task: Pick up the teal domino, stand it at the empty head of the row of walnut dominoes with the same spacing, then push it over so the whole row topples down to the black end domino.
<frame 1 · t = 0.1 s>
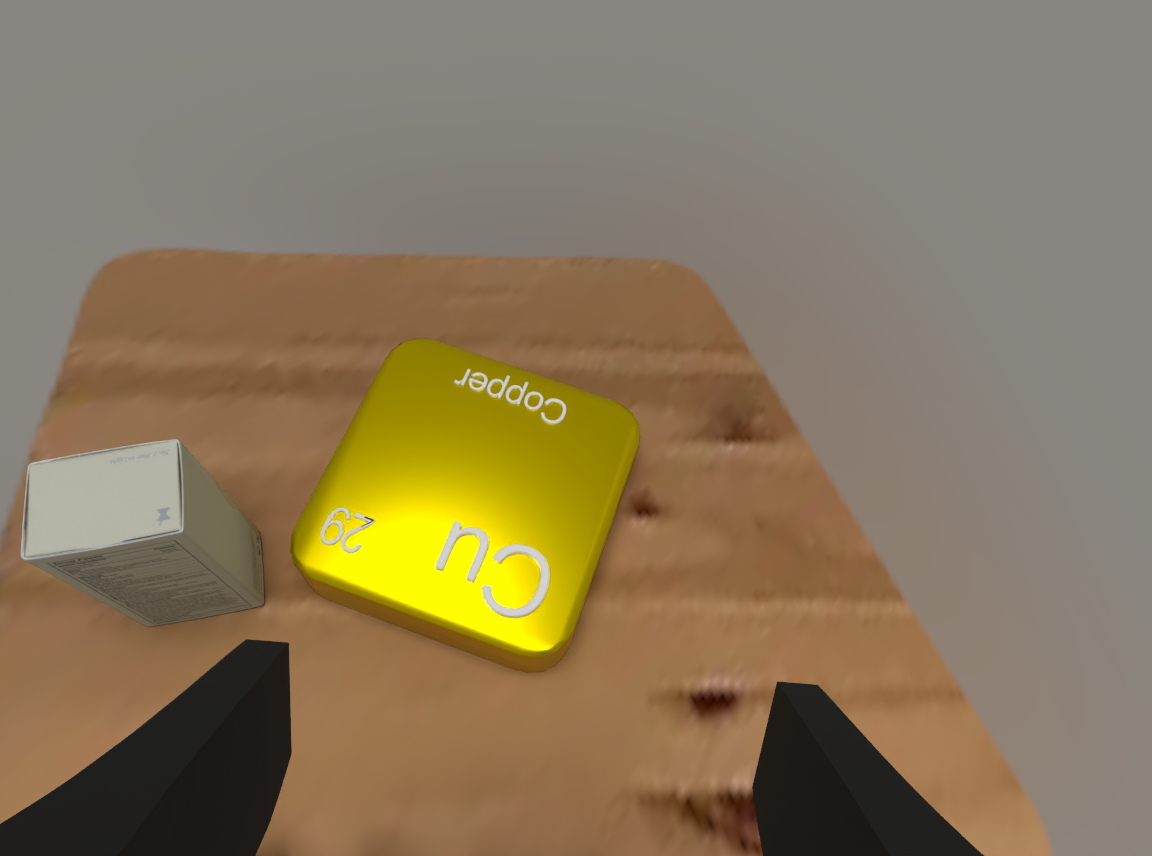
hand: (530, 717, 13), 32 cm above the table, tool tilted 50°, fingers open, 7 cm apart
element tile: (476, 513, 48), on the table
skincare box: (203, 582, 45), on the table
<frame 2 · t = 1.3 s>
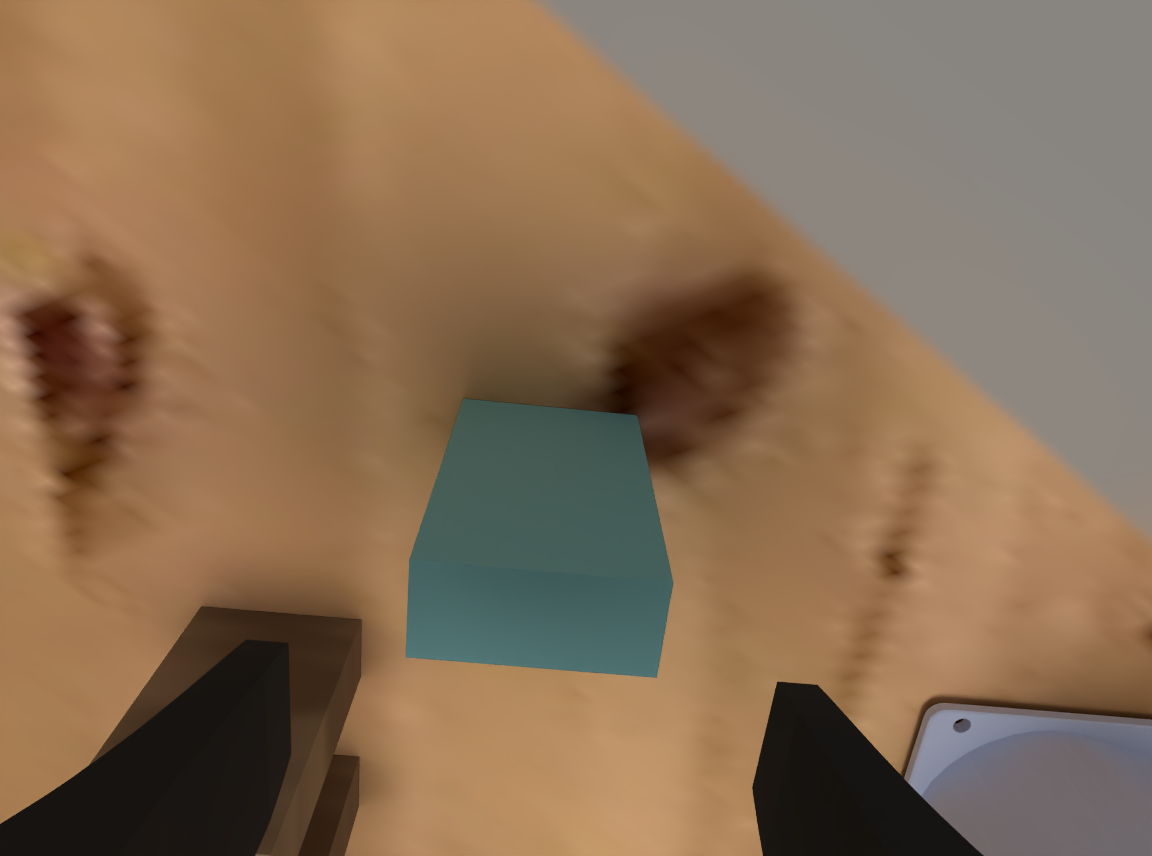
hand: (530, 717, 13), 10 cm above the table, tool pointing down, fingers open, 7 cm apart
walnut domino 1: (282, 642, 24), on the table
walnut domino 2: (285, 776, 26), on the table
teal domino: (547, 442, 22), on the table
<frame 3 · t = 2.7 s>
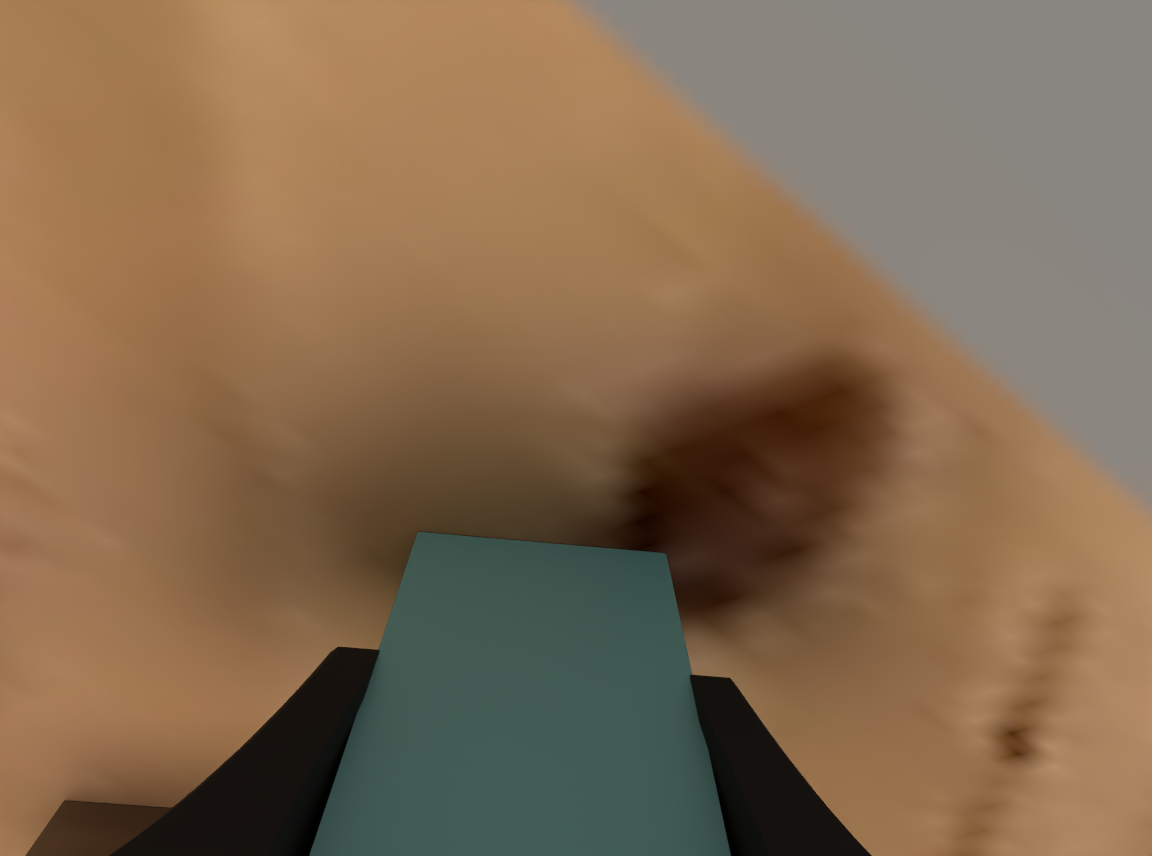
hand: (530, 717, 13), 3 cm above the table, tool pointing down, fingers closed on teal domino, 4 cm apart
walnut domino 1: (178, 844, 18), on the table
teal domino: (537, 589, 16), on the table, touching gripper
when the fingers open (4 cm above the table, at t = 6.4 s): teal domino stays where it is, on the table.
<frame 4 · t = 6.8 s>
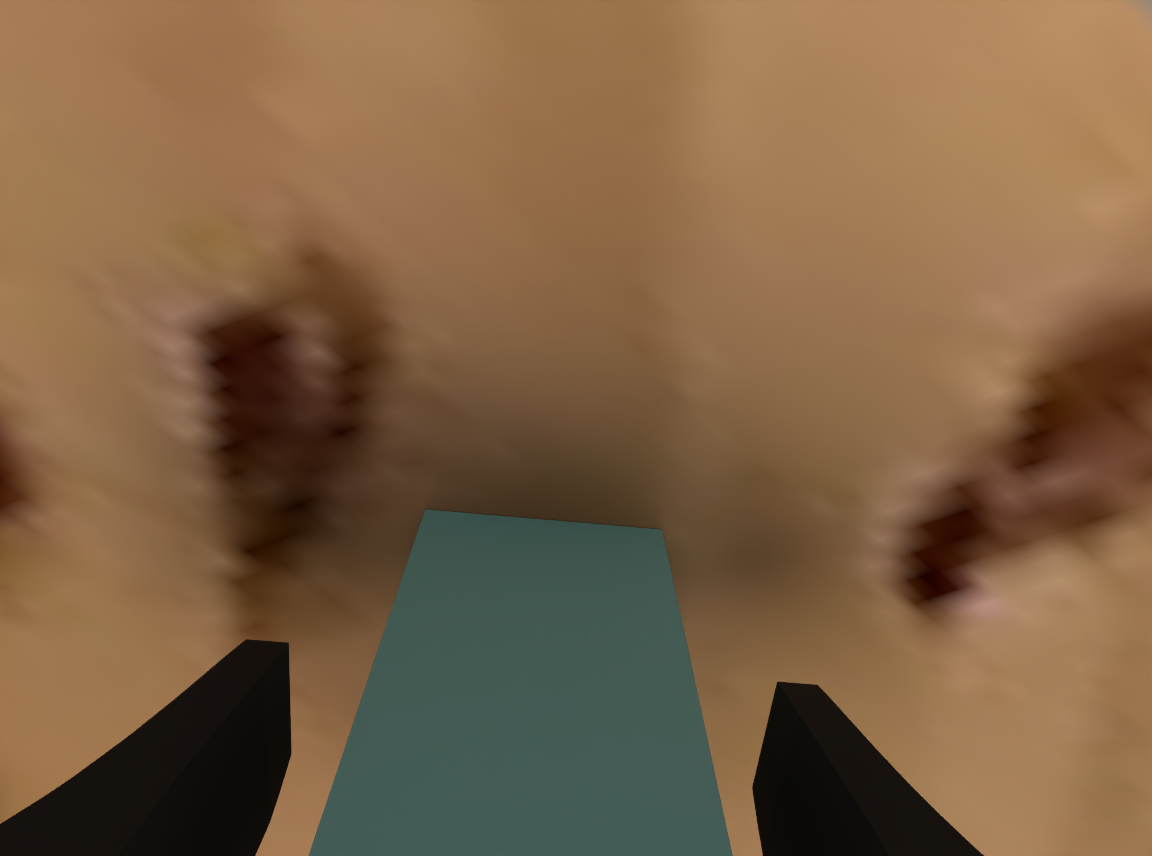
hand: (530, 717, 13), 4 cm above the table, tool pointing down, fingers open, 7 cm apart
teal domino: (539, 565, 16), on the table
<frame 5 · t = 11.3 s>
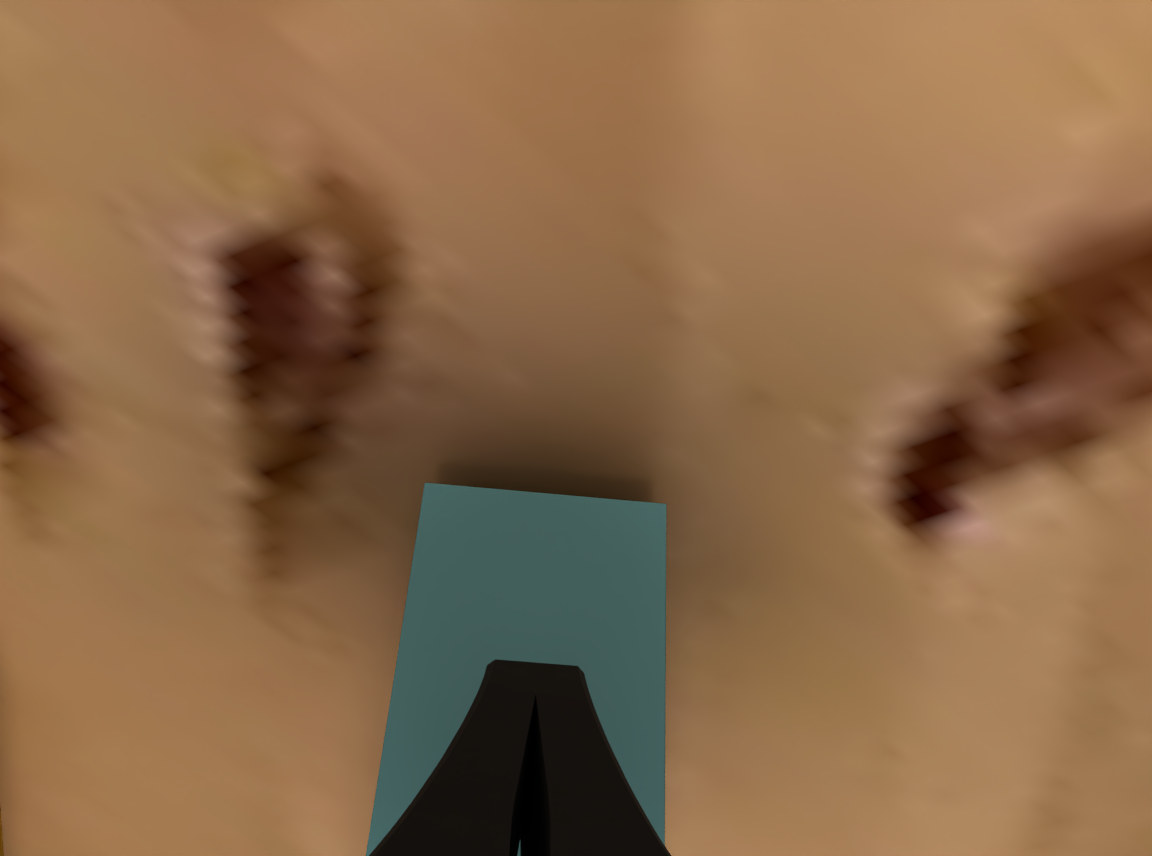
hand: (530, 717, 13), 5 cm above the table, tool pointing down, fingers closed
teal domino: (543, 514, 17), point 1 cm above the table, tilted 39°
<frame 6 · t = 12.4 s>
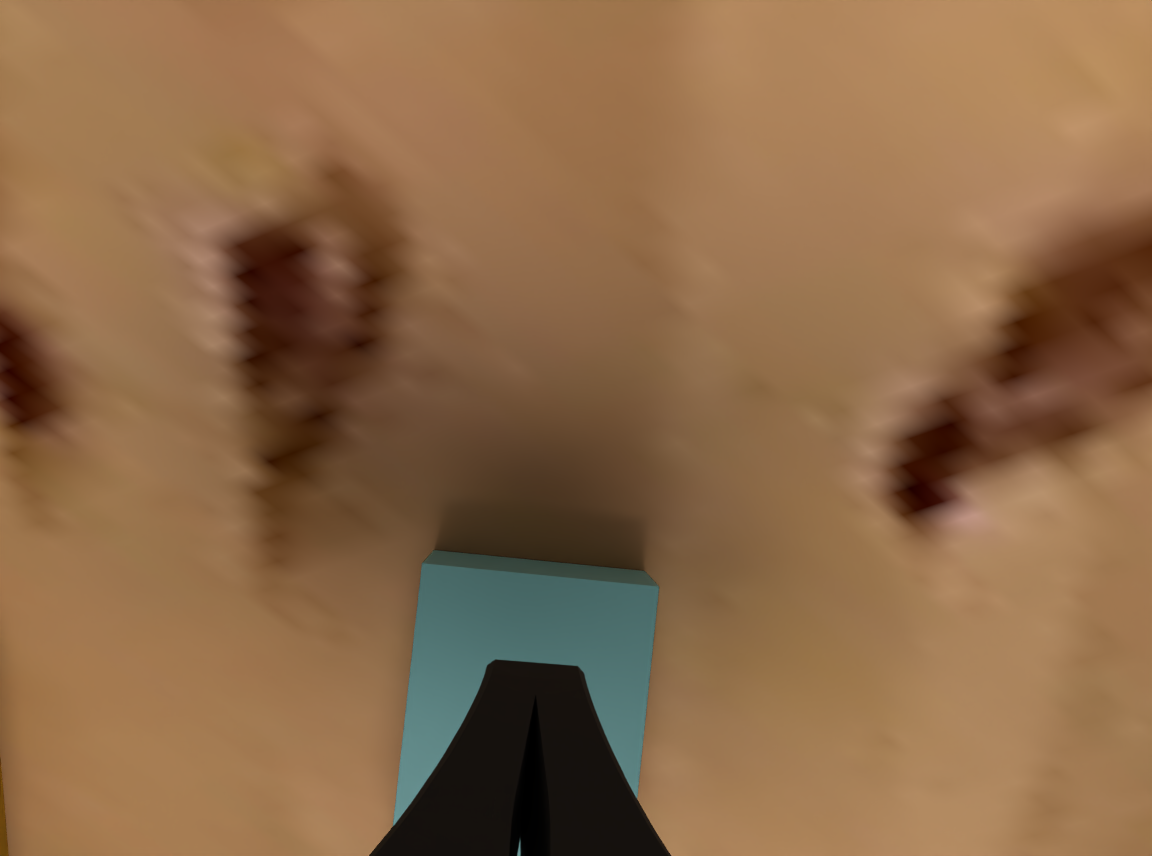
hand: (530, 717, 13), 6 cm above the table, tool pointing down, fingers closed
teal domino: (540, 567, 17), point 1 cm above the table, tilted 67°, touching walnut domino 1
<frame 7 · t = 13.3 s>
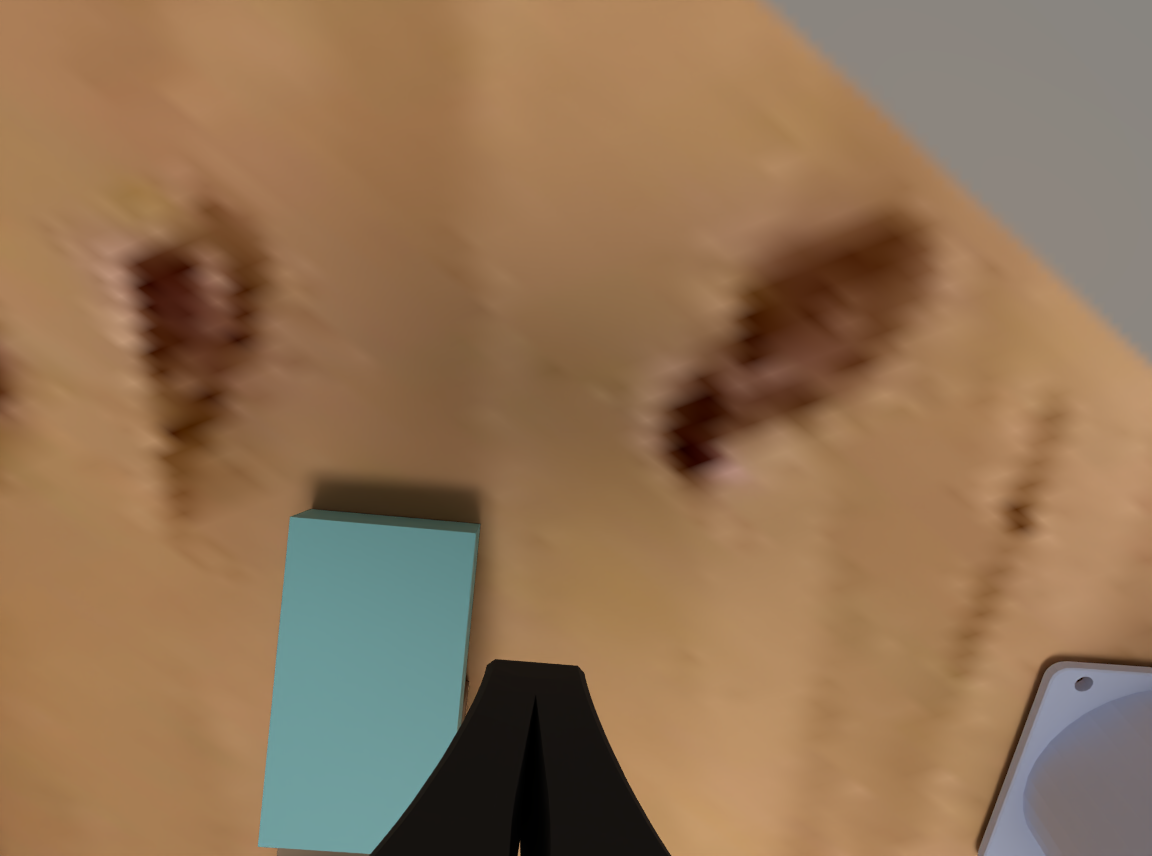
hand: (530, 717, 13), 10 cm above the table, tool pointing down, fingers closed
walnut domino 1: (385, 685, 24), point 1 cm above the table, tilted 68°, touching teal domino, walnut domino 2
teal domino: (390, 520, 22), point 1 cm above the table, tilted 68°, touching walnut domino 1
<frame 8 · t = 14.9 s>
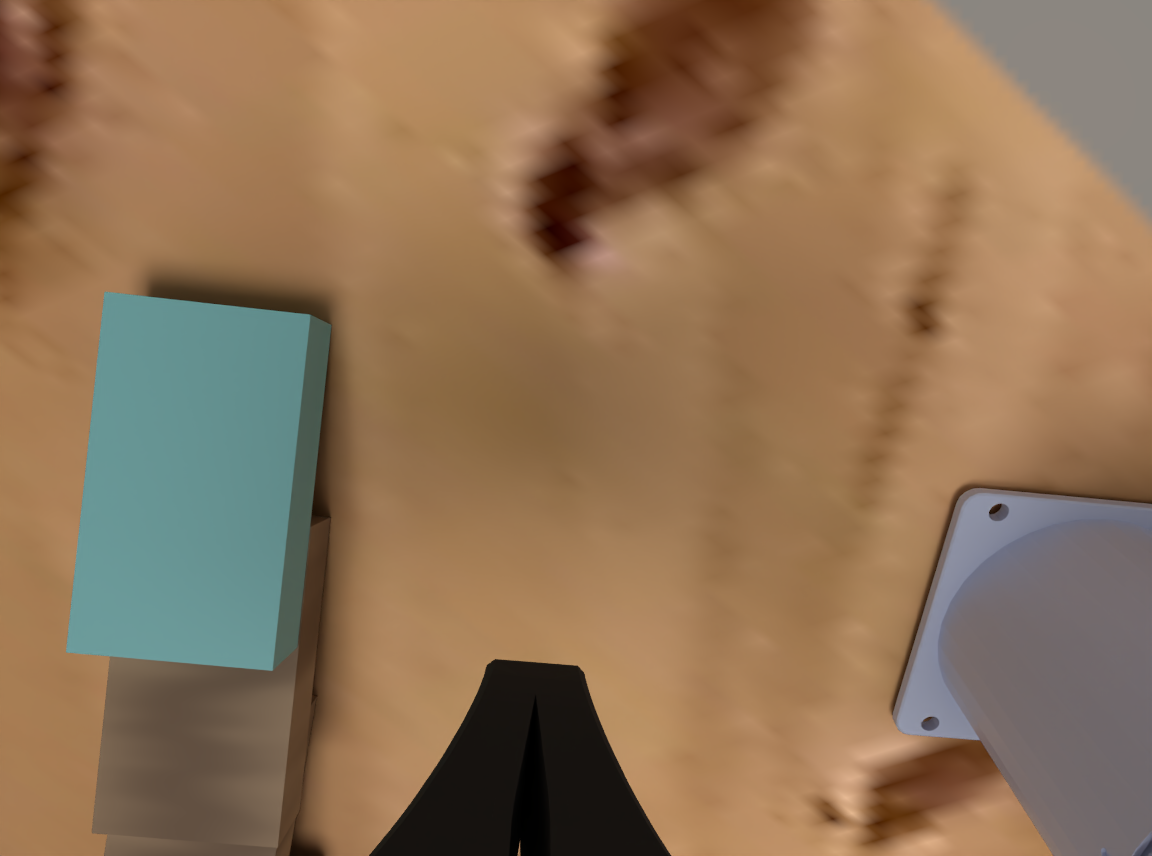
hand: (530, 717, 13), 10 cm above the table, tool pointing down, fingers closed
walnut domino 1: (233, 513, 22), point 1 cm above the table, tilted 69°, touching teal domino, walnut domino 2
walnut domino 2: (228, 696, 24), point 1 cm above the table, tilted 71°, touching walnut domino 1, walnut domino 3
teal domino: (224, 309, 20), point 1 cm above the table, tilted 68°, touching walnut domino 1
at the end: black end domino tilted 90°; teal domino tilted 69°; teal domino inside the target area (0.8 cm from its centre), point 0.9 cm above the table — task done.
